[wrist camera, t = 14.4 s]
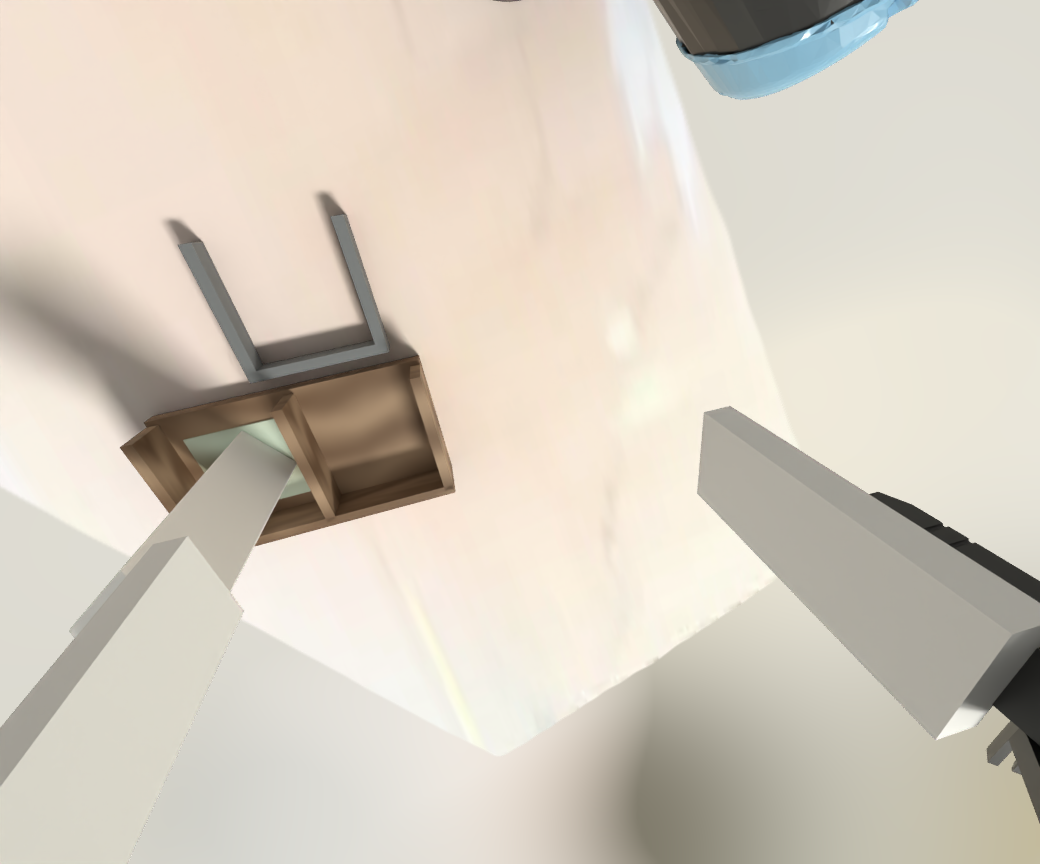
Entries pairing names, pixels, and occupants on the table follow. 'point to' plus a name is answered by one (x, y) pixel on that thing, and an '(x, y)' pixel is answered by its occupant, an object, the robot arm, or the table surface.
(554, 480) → the table surface
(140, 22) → the table surface
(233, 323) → the bracket
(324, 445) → the box
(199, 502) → the milk
